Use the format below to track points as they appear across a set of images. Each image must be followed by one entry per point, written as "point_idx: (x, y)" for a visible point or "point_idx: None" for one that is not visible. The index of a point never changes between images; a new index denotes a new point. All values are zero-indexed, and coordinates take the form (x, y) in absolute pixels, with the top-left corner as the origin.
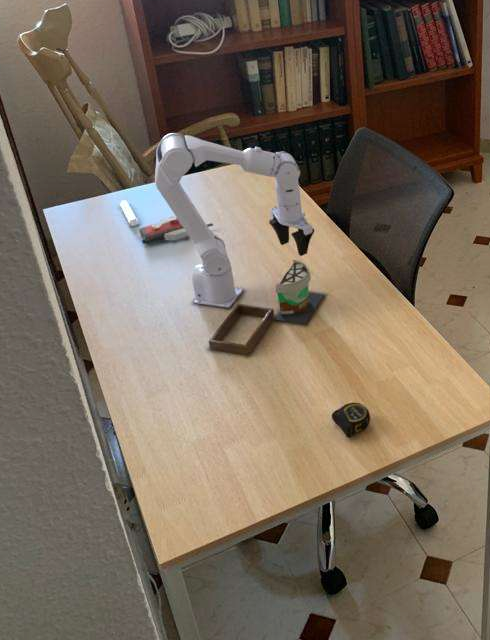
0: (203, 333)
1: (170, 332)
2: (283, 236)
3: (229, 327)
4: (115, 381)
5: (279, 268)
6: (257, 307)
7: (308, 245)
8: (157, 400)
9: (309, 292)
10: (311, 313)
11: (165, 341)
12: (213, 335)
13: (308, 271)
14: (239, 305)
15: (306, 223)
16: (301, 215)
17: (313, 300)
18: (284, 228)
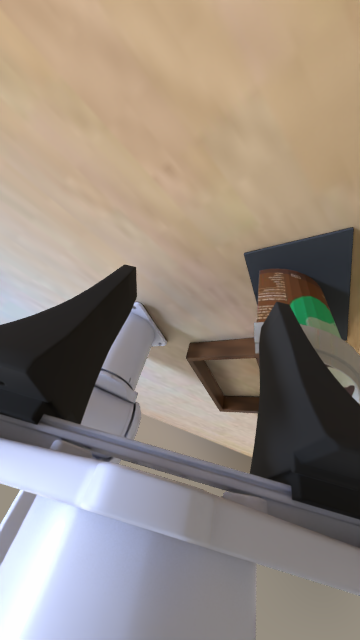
0: (187, 381)
1: (152, 386)
2: (117, 316)
3: (209, 371)
4: (179, 426)
5: (114, 176)
6: (227, 358)
7: (307, 339)
8: (232, 436)
9: (294, 243)
10: (347, 311)
11: (163, 395)
12: (216, 405)
13: (353, 370)
14: (192, 360)
15: (355, 573)
16: (247, 609)
17: (327, 268)
18: (93, 341)
